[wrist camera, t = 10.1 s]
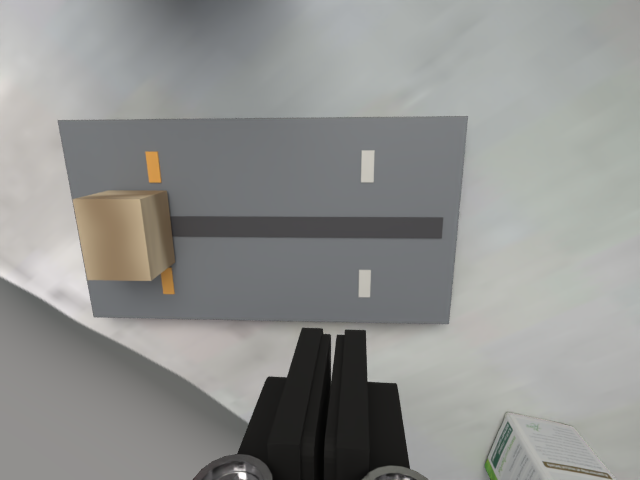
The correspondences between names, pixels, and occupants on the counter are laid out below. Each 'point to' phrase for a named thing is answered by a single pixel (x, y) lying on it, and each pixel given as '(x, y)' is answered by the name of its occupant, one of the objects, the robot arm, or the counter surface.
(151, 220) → the block
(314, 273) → the board
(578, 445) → the syrup box
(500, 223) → the counter surface
